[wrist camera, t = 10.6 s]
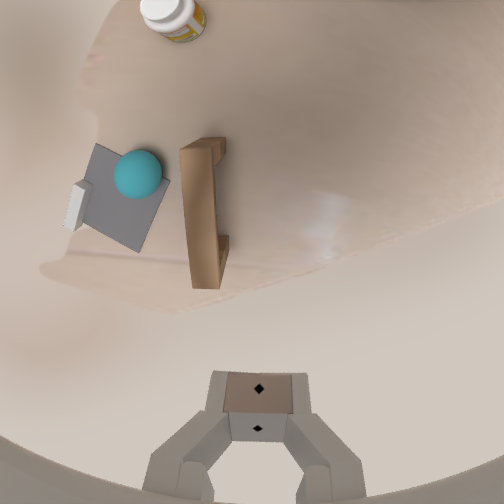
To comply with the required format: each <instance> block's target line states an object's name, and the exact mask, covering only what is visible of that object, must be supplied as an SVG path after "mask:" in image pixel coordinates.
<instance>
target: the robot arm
mask: <svg viewBox="0 0 504 504" xmlns="http://www.w3.org/2000/svg"><path fill="white" fill-rule="evenodd" d="M232 441H259V442H284V445H285V446H286V448H287V449H288V450H289V452H290V453H291V455H292V456H293V457H294V459H295V461H296V462H297V463H298V465H299V466H300V468H301V469H302V470H303V472H304V475H303V478H302V481H301V483H300V485H299V488H298V490H297V493H296V504H504V455H503V456H500V457H498V458H496V459H494V460H492V461H489V462H487V463H485V464H482V465H480V466H477V467H475V468H472V469H470V470H467V471H464V472H461V473H459V474H456V475H453V476H450V477H447V478H444V479H441V480H438V481H435V482H431V483H428V484H424V485H421V486H417V487H413V488H409V489H405V490H401V491H396V492H392V493H387V494H382V495H377V496H371V497H366V489H365V483H364V476H363V470H362V463H361V460H360V459H359V458H358V457H357V456H356V455H355V454H354V453H353V452H352V451H351V450H350V449H349V448H348V447H347V446H346V445H345V444H344V443H343V441H342V440H341V439H340V438H339V437H338V436H337V435H336V434H335V433H334V432H333V431H332V430H331V429H330V428H329V427H328V426H327V425H326V424H325V422H324V421H323V420H322V419H321V418H320V417H319V416H318V415H317V414H312V413H311V402H310V393H309V384H308V375H307V374H306V373H291V374H290V373H244V372H243V373H242V372H228V371H213V373H212V375H211V380H210V386H209V391H208V396H207V401H206V407H205V411H199V412H198V413H197V414H196V415H195V416H194V417H193V418H192V419H190V420H189V421H188V422H187V423H186V424H185V425H184V426H183V427H182V428H181V429H179V430H178V431H177V432H176V433H175V434H174V435H173V436H172V437H170V438H169V439H168V440H167V441H166V442H165V443H164V444H162V445H161V446H160V447H159V448H158V449H157V450H155V451H154V452H153V453H152V454H151V457H150V461H149V465H148V469H147V472H146V476H145V480H144V483H143V487H142V490H140V489H136V488H132V487H128V486H124V485H121V484H117V483H114V482H110V481H106V480H104V479H100V478H97V477H94V476H91V475H88V474H85V473H82V472H80V471H77V470H74V469H71V468H69V467H66V466H64V465H61V464H59V463H56V462H54V461H52V460H49V459H47V458H45V457H42V456H40V455H38V454H36V453H34V452H32V451H29V450H27V449H25V448H23V447H21V446H19V445H17V444H15V443H13V442H11V441H9V440H8V439H6V438H4V437H2V436H1V435H0V504H232V503H220V502H213V501H214V489H213V486H212V484H211V481H210V478H209V476H208V473H207V471H208V470H209V469H210V468H211V467H212V465H213V464H214V463H215V462H216V460H218V458H219V457H220V456H221V455H222V454H223V452H224V451H225V450H226V449H227V448H228V446H229V445H230V444H231V443H232Z"/></svg>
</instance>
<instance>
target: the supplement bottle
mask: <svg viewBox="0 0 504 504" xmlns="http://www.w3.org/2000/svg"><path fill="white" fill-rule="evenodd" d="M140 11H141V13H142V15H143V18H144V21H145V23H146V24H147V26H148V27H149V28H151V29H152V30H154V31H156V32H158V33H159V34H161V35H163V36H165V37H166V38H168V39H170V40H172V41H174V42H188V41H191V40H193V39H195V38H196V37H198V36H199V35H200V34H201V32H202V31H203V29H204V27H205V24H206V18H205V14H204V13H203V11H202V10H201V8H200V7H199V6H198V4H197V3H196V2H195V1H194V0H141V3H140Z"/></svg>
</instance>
